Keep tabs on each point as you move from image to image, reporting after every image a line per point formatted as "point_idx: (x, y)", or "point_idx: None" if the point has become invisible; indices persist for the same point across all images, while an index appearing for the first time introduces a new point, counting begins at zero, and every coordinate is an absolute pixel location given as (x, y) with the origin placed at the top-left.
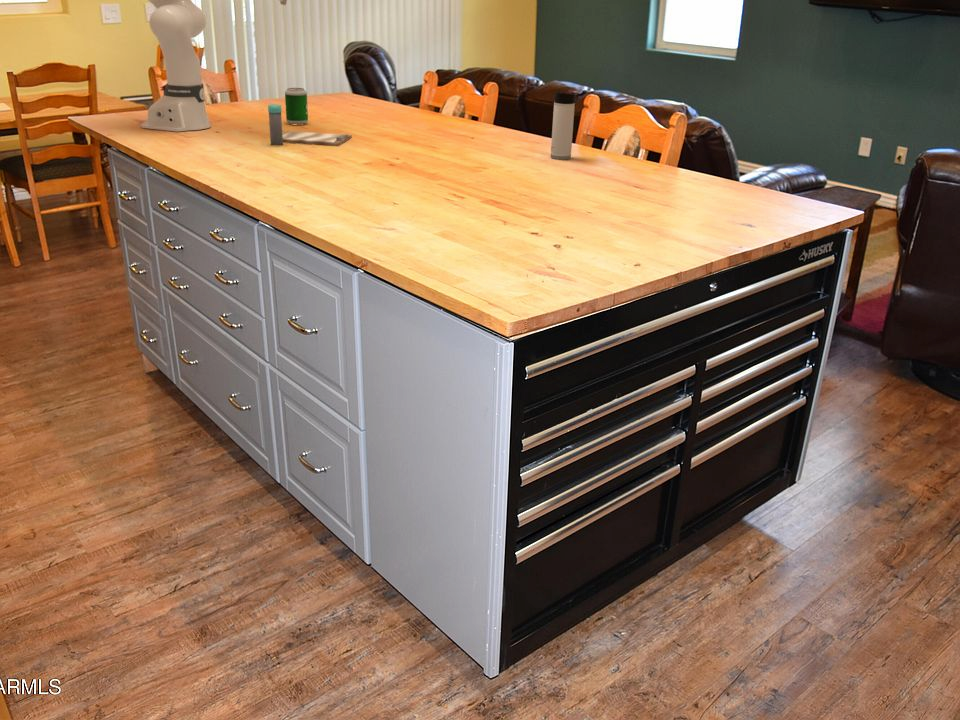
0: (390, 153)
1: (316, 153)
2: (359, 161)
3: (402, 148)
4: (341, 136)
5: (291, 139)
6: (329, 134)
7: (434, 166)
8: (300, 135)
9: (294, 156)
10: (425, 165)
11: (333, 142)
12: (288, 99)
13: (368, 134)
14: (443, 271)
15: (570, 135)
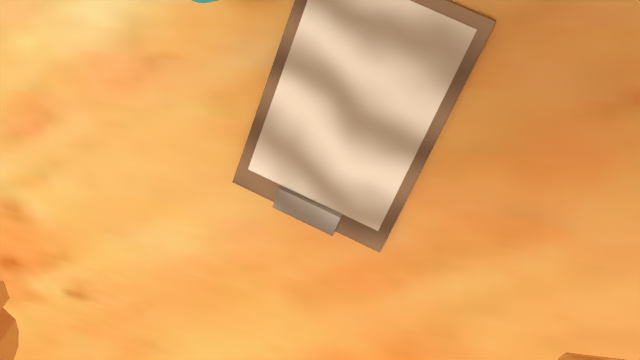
0: (140, 297)
1: (127, 94)
2: (38, 196)
3: (206, 344)
4: (296, 208)
5: (298, 26)
6: (388, 179)
7: None
8: (376, 68)
9: (80, 19)
10: None
11: (251, 169)
12: None
13: (437, 314)
14: None
15: None
